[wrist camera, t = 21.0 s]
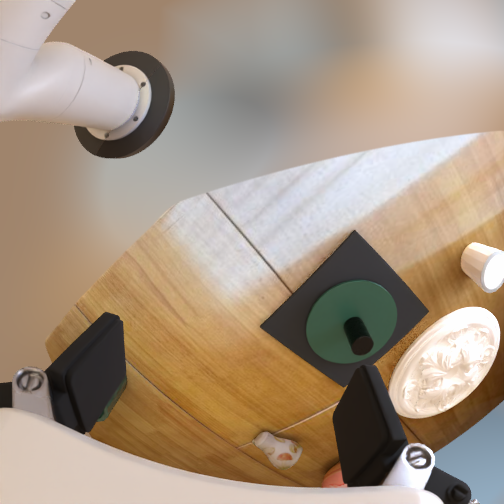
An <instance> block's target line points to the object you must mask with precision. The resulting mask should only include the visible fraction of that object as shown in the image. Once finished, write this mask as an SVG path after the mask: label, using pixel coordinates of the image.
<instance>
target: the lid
mask: <svg viewBox="0 0 504 504" xmlns="http://www.w3.org/2000/svg"><path fill="white" fill-rule="evenodd" d="M396 322H397V308H396V304H395V301H394V299H393V297H392V296H391V295H390V293H389V292H388V291H387V290H386V289H385V288H384V287H382V286H381V285H379V284H377V283H375V282H372V281H368V280H351V281H346V282H343V283H340V284H338V285H336V286H334V287H332V288H330V289H329V290H327V291H326V292H325V293H324V294H322V295H321V296H320V297H319V298H318V299H317V301H316V302H315V303H314V305H313V306H312V308H311V310H310V312H309V314H308V317H307V321H306V335H307V340H308V342H309V345H310V346H311V348H312V349H313V351H314V352H315V353H316V354H317V355H319V356H320V357H321V358H323V359H325V360H327V361H330V362H334V363H342V364H345V363H354V362H358V361H361V360H364V359H366V358H368V357H370V356H372V355H373V354H375V353H376V352H378V351H379V350H380V349H381V348H382V347H383V346H384V345H385V344H386V343H387V341H388V340H389V339H390V337H391V335H392V333H393V331H394V329H395V326H396Z"/></svg>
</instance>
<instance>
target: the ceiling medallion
mask: <svg viewBox="0 0 504 504" xmlns="http://www.w3.org/2000/svg"><path fill="white" fill-rule="evenodd" d="M499 341H500V329H499V325H498V322H497V320H496V318H495V317H494V316H493V315H492V314H491V313H490V312H489V311H487V310H486V309H483V308H480V307H467V308H463V309H459V310H457V311H454V312H452V313H450V314H448V315H446V316H444V317H442V318H441V319H439V320H438V321H436V322H435V323H434V324H432V325H431V326H430V327H428V328H427V329H426V330H425V331H424V332H423V333H422V334H421V335H419V336H418V337H417V338H416V340H415V341H414V342H413V343H412V344H411V345H410V346H409V347H408V349H407V350H406V351H405V353H404V354H403V355H402V357H401V358H400V360H399V362H398V363H397V365H396V367H395V369H394V371H393V373H392V376H391V379H390V383H389V389H388V394H389V396H390V398H391V401H392V403H393V405H394V408H395V410H396V412H397V413H398V414H400V415H402V416H404V417H408V418H425V417H430V416H433V415H436V414H439V413H441V412H444V411H446V410H448V409H450V408H451V407H453V406H455V405H456V404H458V403H459V402H461V401H462V400H463V399H464V398H466V397H467V396H468V395H469V394H470V393H471V392H472V391H473V390H474V389H475V388H476V387H477V386H478V385H479V384H480V382H481V381H482V380H483V378H484V377H485V376H486V374H487V373H488V371H489V369H490V367H491V365H492V363H493V361H494V359H495V357H496V354H497V351H498V347H499Z"/></svg>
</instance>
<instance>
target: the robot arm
mask: <svg viewBox="0 0 504 504" xmlns="http://www.w3.org/2000/svg"><path fill="white" fill-rule="evenodd" d="M75 1H76V0H0V122H3V121H12V120H27V121H41V122H50V123H58V124H66V125H74V126H81V127H86V128H87V129H88V131H89V132H90V133H91V134H92V135H93V136H95V137H96V138H99V139H102V140H117V139H121V138H123V137H125V136H127V135H129V134H130V133H132V132H133V131H134V130H135V129H136V128H137V127H138V126H139V125H140V124H141V122H142V121H143V119H144V118H145V116H146V114H147V112H148V109H149V107H150V102H151V93H152V91H151V85H150V82H149V80H148V78H147V76H146V75H145V74H144V73H143V72H142V71H141V70H139V69H137V68H136V67H133V66H130V65H119V66H115V67H114V66H112V65H110V64H108V63H106V62H104V61H102V60H100V59H99V58H97V57H95V56H93V55H91V54H88V53H87V52H85V51H83V50H81V49H79V48H77V47H75V46H72V45H71V44H68V43H65V42H48V43H44V41H45V39H46V38H47V37H48V35H49V34H50V33H51V31H52V30H53V28H54V27H55V26H56V24H57V23H58V22H59V20H60V19H61V18H62V17H63V15H64V14H65V13H66V12H67V10H68V9H69V8H70V7H71V6H72V4H73V3H74V2H75ZM144 85H145V86H144ZM137 119H138V120H137ZM125 375H126V362H125V349H124V331H123V321H122V320H120V318H119V316H118V315H114V314H111V313H108V312H105V313H103V314H102V315H101V316H100V317H99V318H98V319H97V320H96V321H95V322H94V323H93V324H92V325H91V326H90V327H89V328H88V329H87V330H86V331H85V332H84V333H82V334H81V335H80V336H79V337H78V338H77V339H76V340H75V341H74V342H73V343H72V344H71V345H70V346H69V347H68V348H67V349H66V350H65V351H64V352H63V353H62V354H61V355H60V356H59V357H58V358H57V359H56V360H55V361H54V362H53V363H52V364H51V365H50V366H49V367H48V368H47V369H46V370H45V371H43V370H41V369H39V368H37V367H25V368H22V369H20V370H18V371H17V372H16V373H15V375H14V377H13V380H12V382H8V383H0V504H480V503H479V502H478V501H477V500H475V499H474V500H473V501H471V500H470V499H471V490H470V488H469V487H468V485H467V484H466V483H464V482H463V481H461V480H459V479H457V478H455V477H453V476H451V475H449V474H447V473H446V472H444V471H441V470H440V469H438V468H436V467H434V463H435V457H434V455H433V453H432V451H431V450H430V449H429V448H428V447H426V446H425V445H422V444H419V443H413V444H408V441H407V438H406V435H405V433H404V430H403V428H402V425H401V423H400V420H399V418H398V415H397V413H396V410H395V408H394V405H393V403H392V401H391V398H390V396H389V394H388V391H387V389H386V387H385V384H384V382H383V380H382V377H381V375H380V373H379V371H378V368H377V367H376V366H375V365H361V366H360V368H356V370H355V372H354V374H353V376H352V378H351V380H350V382H349V384H348V386H347V388H346V390H345V392H344V394H343V396H342V398H341V400H340V402H339V403H338V405H337V407H336V409H335V411H334V413H333V424H334V430H335V436H336V441H337V447H338V453H339V459H340V465H341V472H342V478H343V482H344V484H347V488H303V487H284V486H272V485H262V484H253V483H246V482H239V481H232V480H227V479H221V478H216V477H211V476H206V475H201V474H197V473H193V472H188V471H184V470H181V469H177V468H173V467H170V466H166V465H163V464H159V463H156V462H153V461H150V460H147V459H144V458H141V457H138V456H135V455H132V454H129V453H127V452H124V451H121V450H119V449H116V448H114V447H111V446H109V445H106V444H104V443H101V442H99V441H97V440H94V439H92V438H90V437H87V436H85V435H84V434H85V432H90V431H91V429H92V428H93V426H94V425H95V423H96V421H97V420H98V418H99V417H100V415H101V413H102V412H103V410H104V409H105V407H106V406H107V404H108V402H109V401H110V399H111V398H112V396H113V395H114V393H115V392H116V390H117V389H118V387H119V385H120V384H121V382H122V381H123V379H124V378H125Z"/></svg>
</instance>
